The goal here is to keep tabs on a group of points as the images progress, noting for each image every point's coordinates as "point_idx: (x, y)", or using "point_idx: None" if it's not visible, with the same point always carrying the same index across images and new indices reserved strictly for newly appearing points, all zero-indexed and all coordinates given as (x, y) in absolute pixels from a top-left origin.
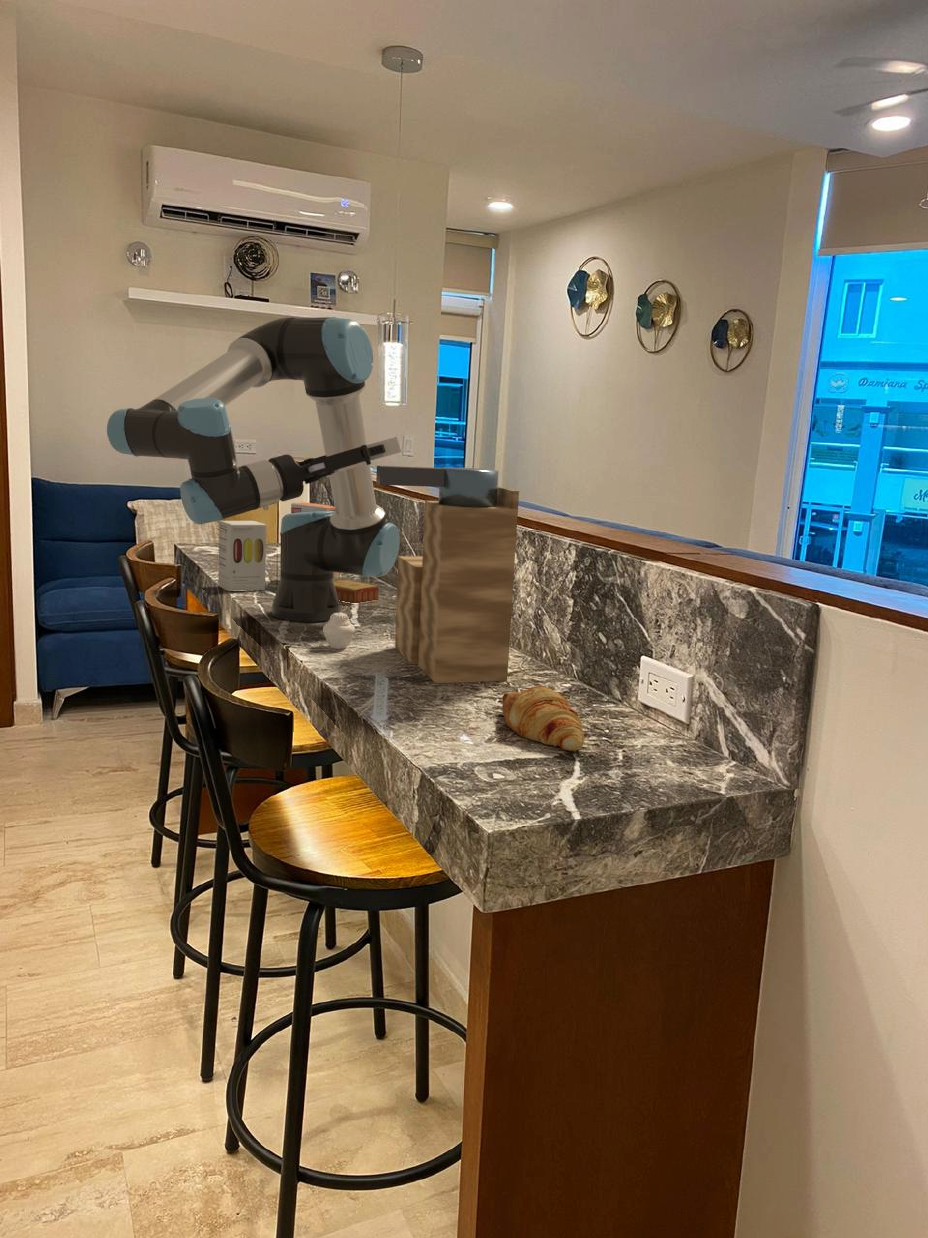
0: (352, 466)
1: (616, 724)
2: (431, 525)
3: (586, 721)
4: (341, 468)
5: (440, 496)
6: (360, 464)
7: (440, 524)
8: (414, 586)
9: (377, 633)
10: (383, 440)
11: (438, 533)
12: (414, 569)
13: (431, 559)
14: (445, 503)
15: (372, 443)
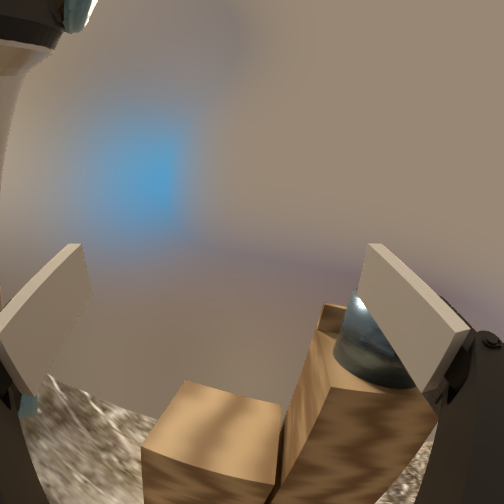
0: (62, 335)
1: (425, 457)
2: (368, 429)
3: (423, 470)
4: (37, 371)
5: (404, 376)
6: (77, 312)
7: (424, 423)
8: (264, 501)
9: (70, 481)
10: (410, 270)
11: (407, 436)
12: (267, 486)
13: (351, 470)
14: (414, 385)
15: (443, 301)
